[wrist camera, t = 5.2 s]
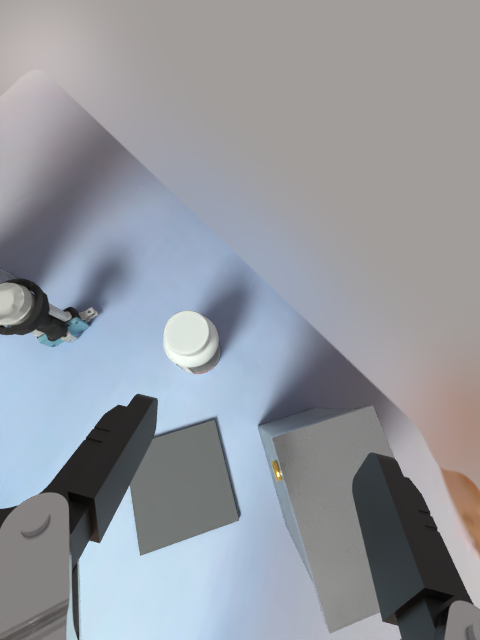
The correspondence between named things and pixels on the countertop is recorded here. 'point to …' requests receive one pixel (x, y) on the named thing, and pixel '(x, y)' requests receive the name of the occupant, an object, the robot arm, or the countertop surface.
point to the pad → (181, 488)
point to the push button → (38, 314)
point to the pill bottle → (192, 342)
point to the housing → (327, 501)
